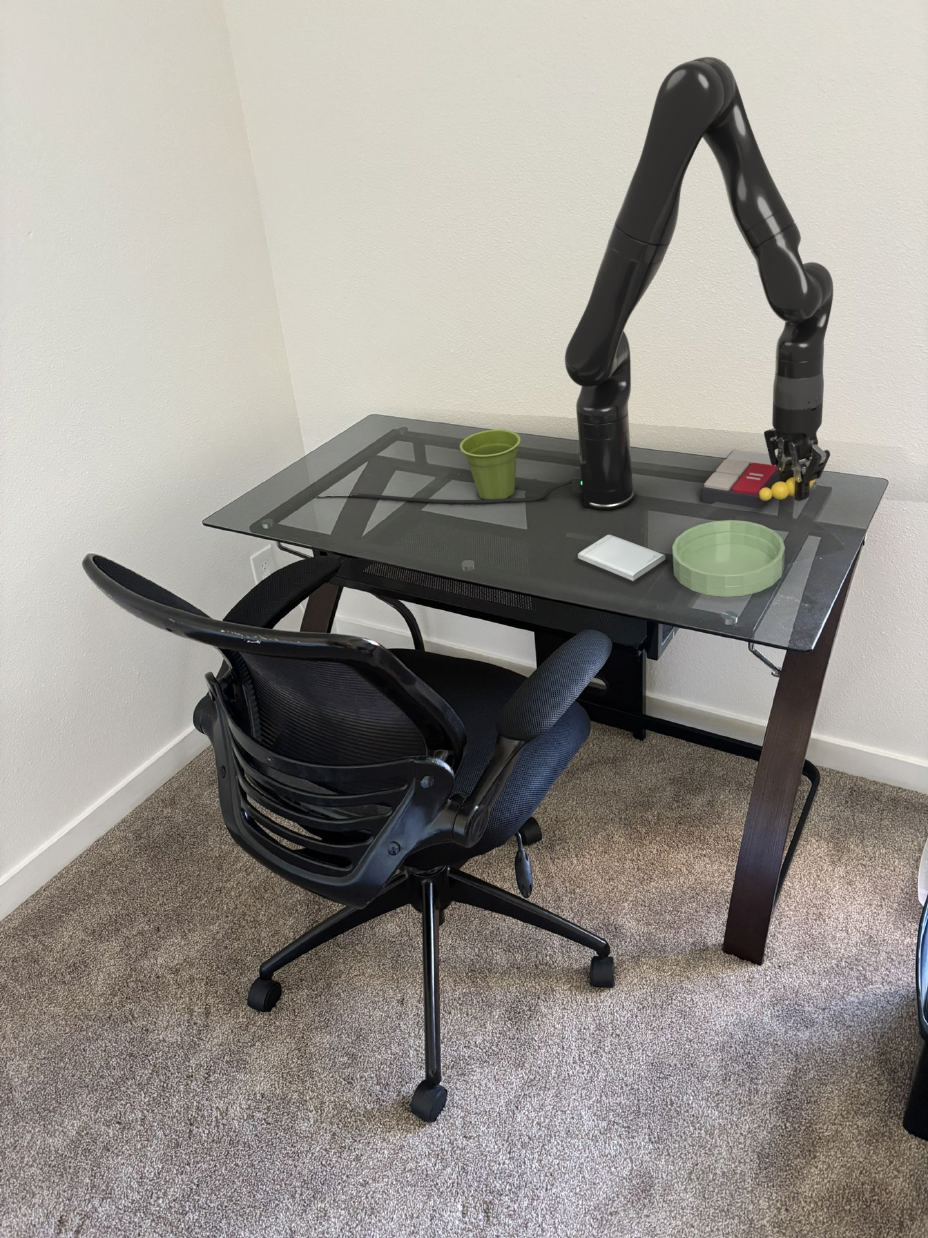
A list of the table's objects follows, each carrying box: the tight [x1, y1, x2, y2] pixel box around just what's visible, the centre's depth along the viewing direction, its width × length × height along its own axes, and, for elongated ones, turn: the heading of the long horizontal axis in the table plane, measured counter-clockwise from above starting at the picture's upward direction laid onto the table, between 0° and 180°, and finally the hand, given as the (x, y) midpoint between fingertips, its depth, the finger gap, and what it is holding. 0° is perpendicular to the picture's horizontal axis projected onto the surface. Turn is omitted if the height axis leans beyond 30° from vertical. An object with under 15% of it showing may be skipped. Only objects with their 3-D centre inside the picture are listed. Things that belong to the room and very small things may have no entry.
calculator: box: [700, 449, 780, 509], centre depth 174 cm, size 11×4×15 cm
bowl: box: [671, 519, 786, 598], centre depth 152 cm, size 17×17×4 cm
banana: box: [758, 476, 817, 502], centre depth 158 cm, size 12×4×3 cm, turn 113°
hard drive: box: [577, 534, 666, 582], centre depth 160 cm, size 2×8×12 cm
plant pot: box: [459, 429, 522, 500], centre depth 185 cm, size 12×12×11 cm
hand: (793, 494), depth 158 cm, fingers closed on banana, 3 cm apart
